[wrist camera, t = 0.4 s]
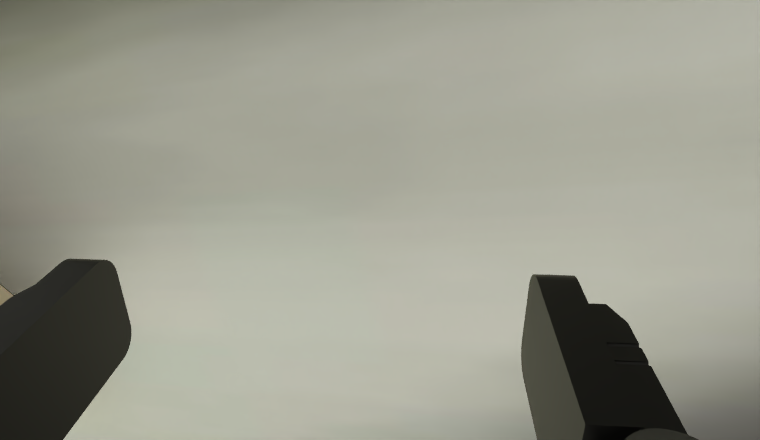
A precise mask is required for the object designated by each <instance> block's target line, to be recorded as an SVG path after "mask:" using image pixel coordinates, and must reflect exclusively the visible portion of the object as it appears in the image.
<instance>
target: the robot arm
mask: <svg viewBox="0 0 760 440" xmlns="http://www.w3.org/2000/svg"><path fill="white" fill-rule="evenodd" d="M130 341H131V325H130V320H129V317H128V313H127V309H126V305H125V301H124V297H123V294H122V290H121V286H120V282H119V278H118V274H117V271H116V268H115V266H114V265H113V264H112V263H111V262H110V261H108V260H90V259H67V260H64V261H63V262H61V263H60V264H59V265H58V266H57V267H55V268H54V269H53V270H52V271H51V272H50V273H48V274H47V275H46V276H45V277H44V278H43V279H41V280H40V281H39V282H38V283H37V284H36V285H34V286H32V287H30V288H28V289H26V290H24V291H22V292H20V293H18V294H16V295H14V296H13V297H11V298H9V299H8V300H7V301H5V302H4V303H3V304H2V305H1V306H0V440H63V439H64V438H65V436H66V435H67V434H68V432H69V431H70V430H71V428H72V427H73V426H74V424H75V423H76V422H77V420H78V419H79V417H80V416H81V415H82V413H83V412H84V411H85V409H86V408H87V407H88V405H89V404H90V403H91V401H92V400H93V399H94V397H95V396H96V395H97V393H98V392H99V391H100V389H101V388H102V387H103V385H104V384H105V383H106V381H107V380H108V379H109V377H110V376H111V375H112V373H113V372H114V371H115V369H116V368H117V367H118V365H119V364H120V363H121V361H122V360H123V359H124V357H125V355H126V353H127V351H128V349H129V345H130ZM521 361H522V372H523V378H524V383H525V387H526V392H527V396H528V401H529V405H530V410H531V414H532V419H533V423H534V428H535V432H536V436H537V440H698V439H696V438H694V437H691V436H689V435H688V434H687V432H686V431H685V429H684V427H683V425H682V423H681V421H680V419H679V417H678V416H677V414H676V412H675V410H674V408H673V406H672V404H671V403H670V401H669V399H668V397H667V395H666V393H665V391H664V390H663V388H662V386H661V384H660V382H659V380H658V378H657V376H656V375H655V373H654V371H653V369H652V367H651V366H649V365H648V360H647V358H646V356H645V354H644V352H643V350H642V349H641V348H639V343H638V341H637V339H636V337H635V335H634V334H633V332H632V330H631V328H630V326H629V324H628V323H627V322H626V321H625V320H624V319H623V318H622V317H620V316H619V315H618V314H617V313H616V312H614V311H613V310H612V309H611V308H610V307H609V306H607V305H606V304H588V301H587V299H586V297H585V295H584V293H583V290H582V288H581V286H580V284H579V282H578V280H577V278H576V277H575V276H566V275H535V274H534V275H532V277H531V280H530V284H529V291H528V299H527V306H526V314H525V322H524V330H523V337H522V348H521Z"/></svg>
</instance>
